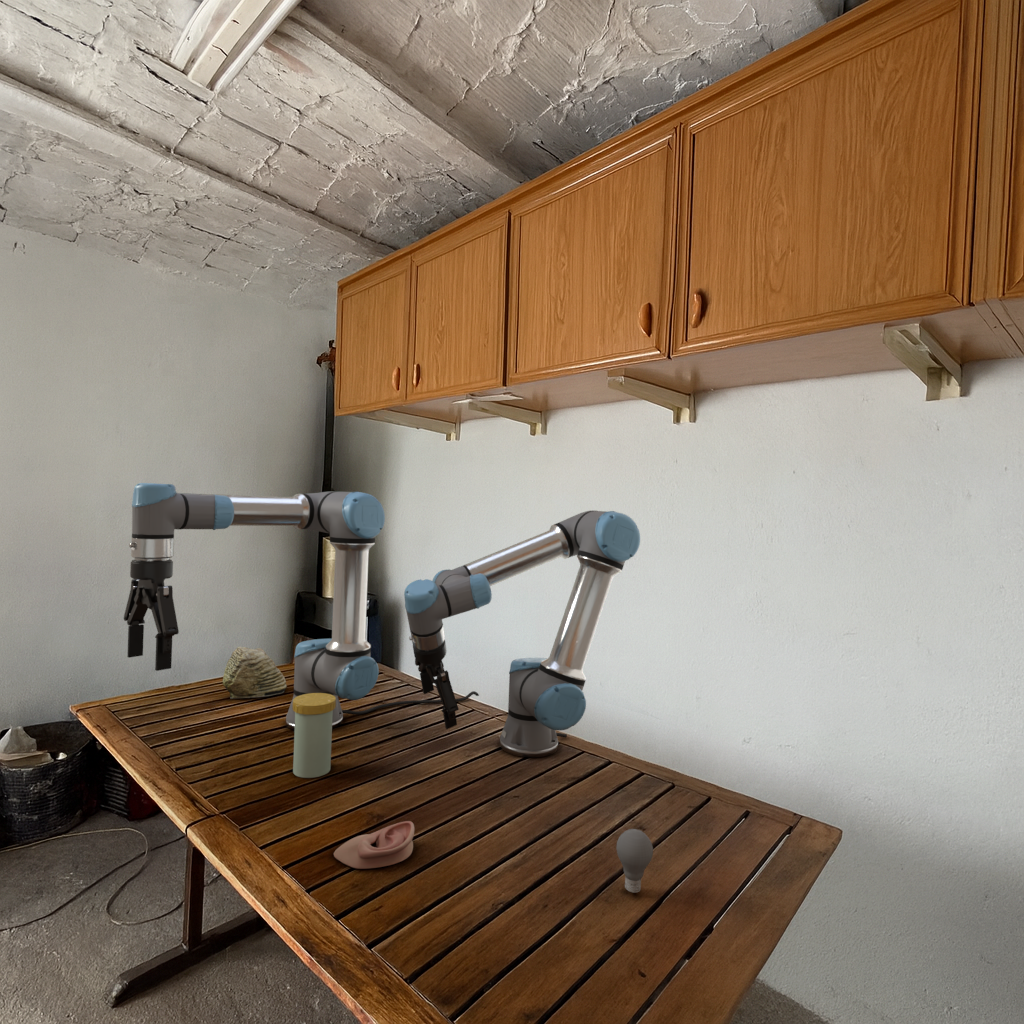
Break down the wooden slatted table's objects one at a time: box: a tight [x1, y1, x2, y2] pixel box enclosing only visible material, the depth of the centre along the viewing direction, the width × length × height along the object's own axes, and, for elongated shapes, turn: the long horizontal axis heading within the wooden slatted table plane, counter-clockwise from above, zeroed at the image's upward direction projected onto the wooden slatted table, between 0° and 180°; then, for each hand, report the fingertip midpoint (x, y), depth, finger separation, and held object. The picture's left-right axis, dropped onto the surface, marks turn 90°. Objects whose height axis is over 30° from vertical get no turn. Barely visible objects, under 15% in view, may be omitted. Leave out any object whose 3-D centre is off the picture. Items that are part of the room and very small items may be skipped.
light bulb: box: [615, 828, 654, 894], centre depth 106 cm, size 6×6×10 cm
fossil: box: [222, 646, 288, 699], centre depth 198 cm, size 9×18×15 cm, turn 132°
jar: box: [292, 710, 333, 779], centre depth 146 cm, size 8×8×16 cm
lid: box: [292, 693, 336, 715], centre depth 146 cm, size 10×10×2 cm
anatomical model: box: [333, 820, 415, 870], centre depth 114 cm, size 13×4×12 cm
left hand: (148, 662), depth 129 cm, fingers open, 13 cm apart
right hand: (439, 708), depth 156 cm, fingers open, 13 cm apart
